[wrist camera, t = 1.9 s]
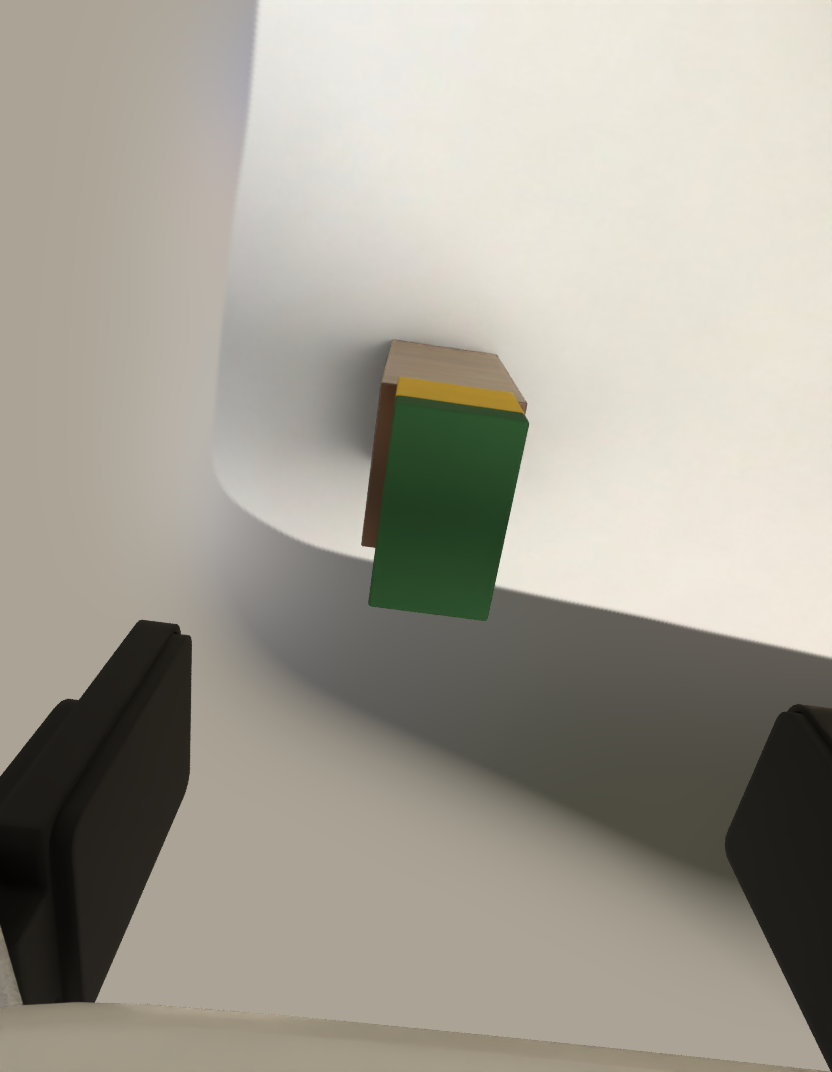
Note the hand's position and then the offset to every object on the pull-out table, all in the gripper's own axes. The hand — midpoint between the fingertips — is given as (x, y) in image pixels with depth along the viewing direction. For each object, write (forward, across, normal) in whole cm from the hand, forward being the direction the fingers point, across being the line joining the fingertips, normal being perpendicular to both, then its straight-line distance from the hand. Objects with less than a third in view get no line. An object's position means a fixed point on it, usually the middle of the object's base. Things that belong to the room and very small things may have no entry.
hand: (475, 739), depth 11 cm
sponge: (+12, 0, 0) cm, 12 cm away
